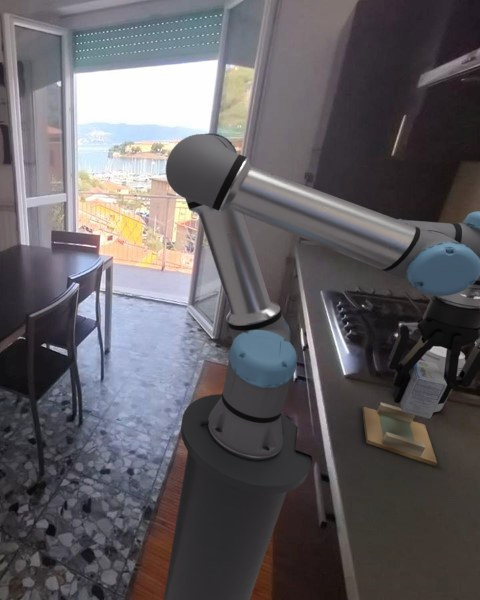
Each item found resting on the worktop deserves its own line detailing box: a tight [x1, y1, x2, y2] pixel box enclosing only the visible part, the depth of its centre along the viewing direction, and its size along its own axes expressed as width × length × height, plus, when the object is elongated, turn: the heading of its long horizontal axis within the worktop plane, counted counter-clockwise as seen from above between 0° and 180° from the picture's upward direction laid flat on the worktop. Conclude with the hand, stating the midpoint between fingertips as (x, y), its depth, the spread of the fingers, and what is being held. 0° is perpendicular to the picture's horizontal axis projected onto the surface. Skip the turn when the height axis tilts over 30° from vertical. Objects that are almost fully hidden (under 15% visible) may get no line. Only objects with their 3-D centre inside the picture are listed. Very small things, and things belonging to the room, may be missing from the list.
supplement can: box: [420, 346, 466, 413], centre depth 83 cm, size 8×8×15 cm
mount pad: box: [361, 402, 438, 467], centre depth 76 cm, size 11×12×4 cm
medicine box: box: [399, 360, 447, 420], centre depth 71 cm, size 8×4×9 cm, turn 148°
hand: (412, 403), depth 73 cm, fingers closed on medicine box, 4 cm apart
